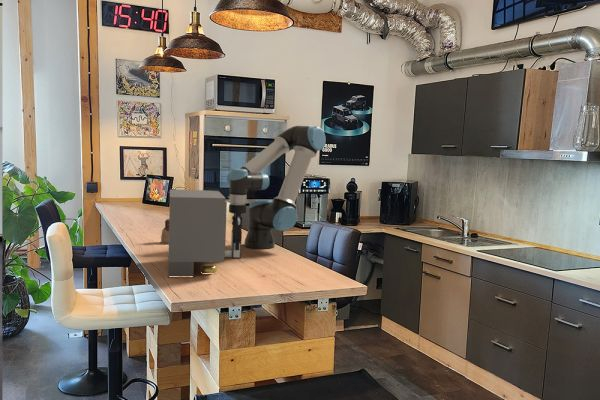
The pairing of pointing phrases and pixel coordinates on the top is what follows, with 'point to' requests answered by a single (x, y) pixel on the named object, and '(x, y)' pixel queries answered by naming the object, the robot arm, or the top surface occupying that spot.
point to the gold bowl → (208, 268)
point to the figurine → (165, 233)
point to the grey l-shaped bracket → (232, 246)
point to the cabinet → (195, 229)
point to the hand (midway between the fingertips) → (235, 255)
